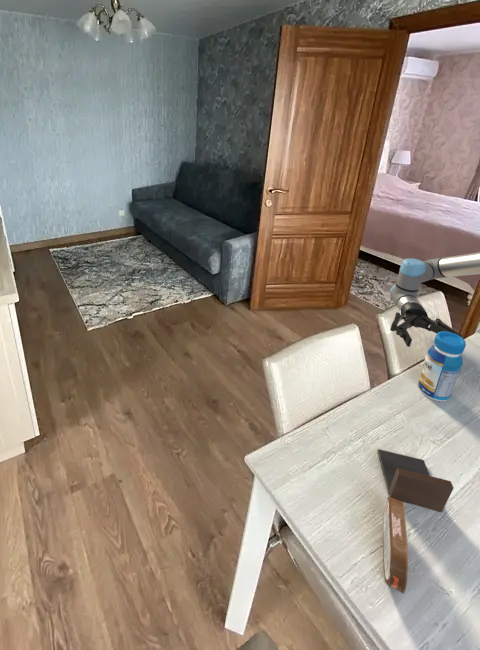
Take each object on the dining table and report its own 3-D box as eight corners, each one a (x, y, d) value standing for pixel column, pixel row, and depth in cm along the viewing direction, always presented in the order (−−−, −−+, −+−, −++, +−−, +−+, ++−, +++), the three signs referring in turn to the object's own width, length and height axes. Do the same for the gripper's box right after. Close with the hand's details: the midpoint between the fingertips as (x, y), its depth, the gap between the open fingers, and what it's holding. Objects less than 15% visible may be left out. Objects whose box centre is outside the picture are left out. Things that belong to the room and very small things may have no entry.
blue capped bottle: (449, 407, 99) (469, 352, 91) (414, 393, 104) (430, 340, 96) (452, 389, 104) (471, 336, 96) (419, 376, 110) (434, 325, 102)
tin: (400, 604, 60) (414, 577, 57) (380, 593, 61) (392, 566, 58) (396, 519, 72) (407, 493, 69) (379, 511, 73) (389, 485, 70)
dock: (377, 451, 86) (384, 428, 83) (422, 462, 84) (432, 439, 81) (389, 498, 76) (399, 474, 73) (442, 512, 73) (454, 488, 70)
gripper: (448, 325, 124) (477, 365, 105) (371, 313, 130) (386, 349, 112) (454, 307, 121) (486, 345, 102) (376, 296, 128) (392, 330, 109)
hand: (434, 347), depth 107 cm, fingers open, 13 cm apart
